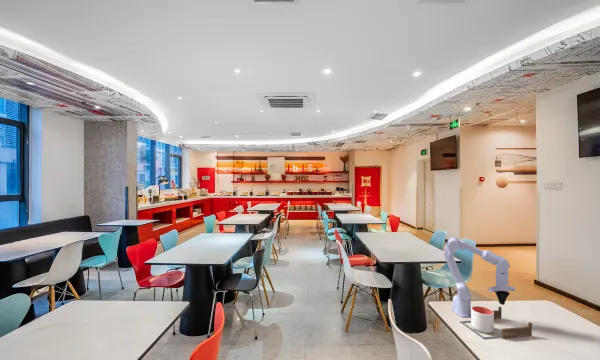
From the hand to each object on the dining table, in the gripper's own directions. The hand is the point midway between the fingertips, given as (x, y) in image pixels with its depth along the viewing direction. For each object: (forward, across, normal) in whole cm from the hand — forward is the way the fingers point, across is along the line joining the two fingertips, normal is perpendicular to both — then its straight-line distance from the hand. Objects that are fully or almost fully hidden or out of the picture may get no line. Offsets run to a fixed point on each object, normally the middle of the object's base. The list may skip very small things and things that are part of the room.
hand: (501, 304), depth 159 cm
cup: (+10, -18, -7) cm, 21 cm away
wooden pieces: (+9, -6, -7) cm, 13 cm away
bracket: (+9, -19, -7) cm, 23 cm away
